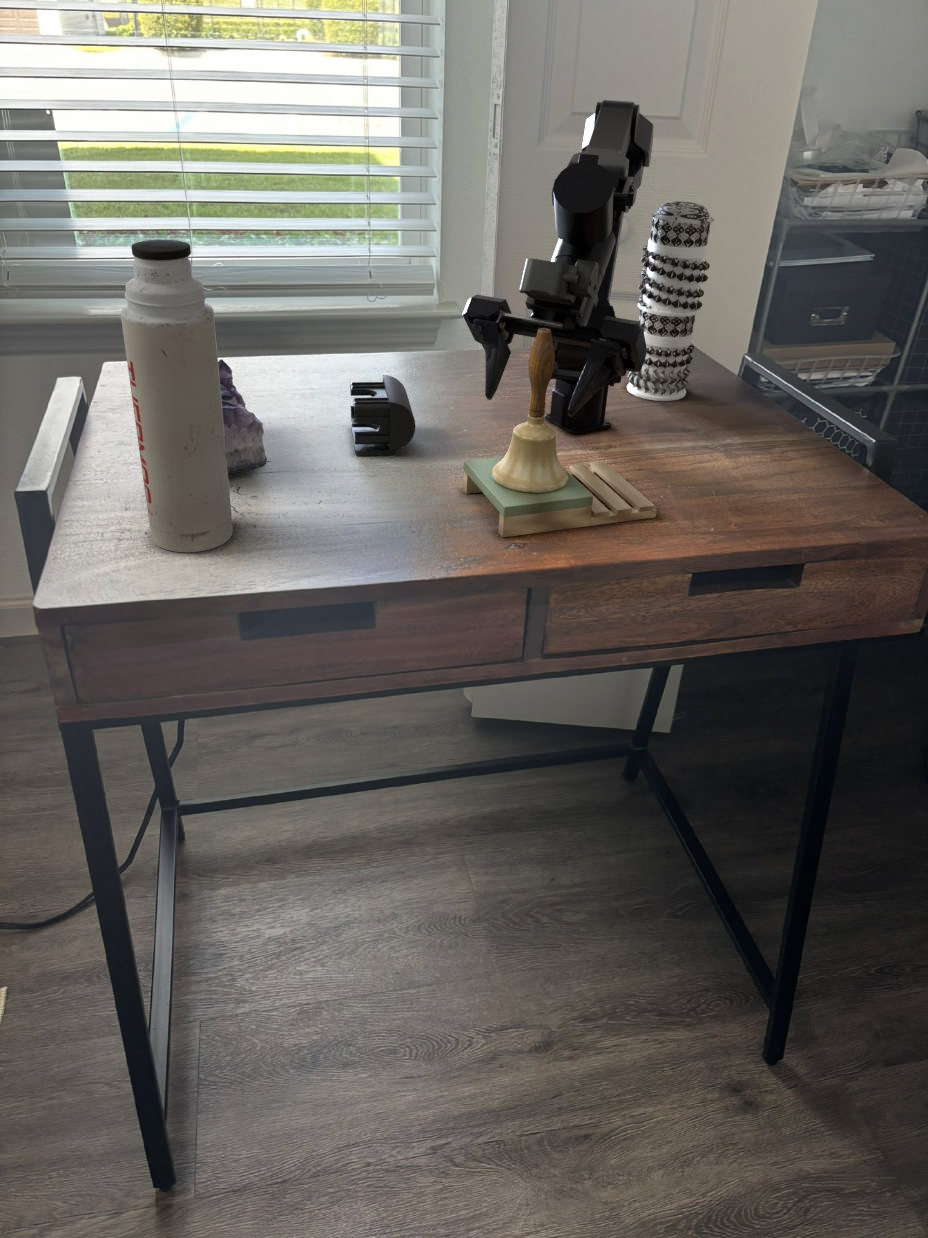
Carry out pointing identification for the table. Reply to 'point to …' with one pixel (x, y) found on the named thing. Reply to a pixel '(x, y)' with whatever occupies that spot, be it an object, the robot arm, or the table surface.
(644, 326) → the decorative candle
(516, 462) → the hand bell
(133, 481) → the table surface
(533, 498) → the rack
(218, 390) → the thermos bottle
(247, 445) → the geode
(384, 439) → the end cap
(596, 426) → the robot arm
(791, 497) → the table surface
